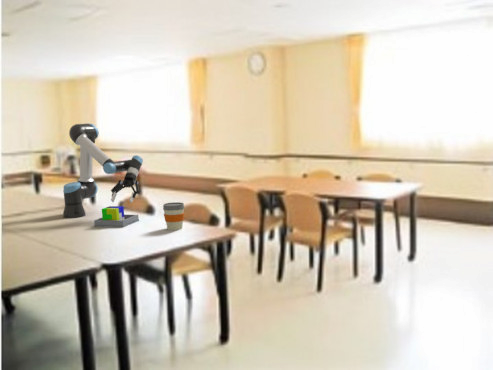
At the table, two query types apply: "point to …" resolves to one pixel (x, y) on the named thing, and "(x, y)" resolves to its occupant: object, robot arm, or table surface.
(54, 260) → the table surface
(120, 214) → the puzzle toy
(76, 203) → the robot arm
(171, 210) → the reusable coffee cup
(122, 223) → the tray
